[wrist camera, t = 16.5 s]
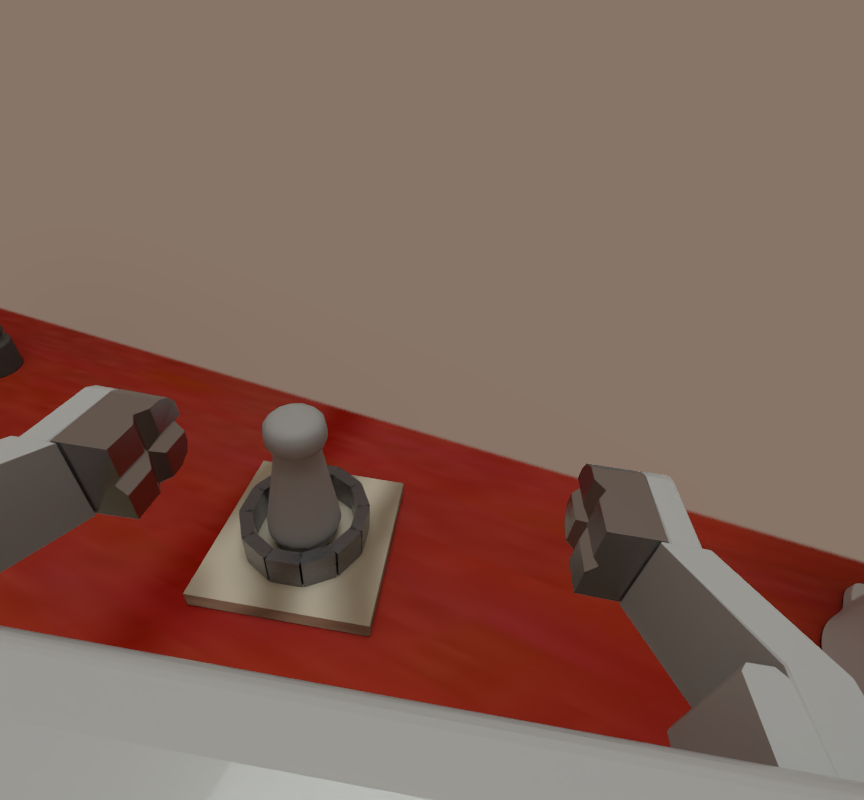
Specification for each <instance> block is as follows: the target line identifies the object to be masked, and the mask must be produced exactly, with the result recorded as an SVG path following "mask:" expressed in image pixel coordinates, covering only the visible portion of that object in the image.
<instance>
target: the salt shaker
mask: <svg viewBox="0 0 864 800" xmlns="http://www.w3.org/2000/svg"><path fill="white" fill-rule="evenodd" d="M262 434H263V441H264V444H265V447H266V448H267V450H268V451H269V452H270V453H271V454H272V455H273V461H272V471H271V481H270V492H269V502H268V512H267V523H268V530H269V533H270V535H271V536H272V537H273V538H274V540H275V541H276V542H277V543H278V545H279V546H281V547H282V548H284V549H285V550H287V551H293V552H299V553H303V552H306V551H310V550H313V549H317V548H320V547H324V546H325V545H327V544H328V543H330V541H331V540H332V538H333V536H334V535H335V533H336V532H337V529H338V526H339V523H340V519H341V511H340V507H339V503H338V500H337V497H336V493H335V490H334V487H333V484H332V480H331V477H330V474H329V471H328V468H327V464H326V461H325V458H324V455H323V451H322V449H323V447H324V444H325V442H326V439H327V437H328V429H327V426H326V422H325V418H324V415H323V414H322V413H321V412H320V411H319V410H317V409H316V408H314V407H312V406H309V405H306V404H303V403H296V404H288V405H284V406H280V407H279V408H277V409H276V410H274V411H273V412H271V413H270V414H268V416H267V417H266V419H265V420H264V422H263V424H262Z"/></svg>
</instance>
